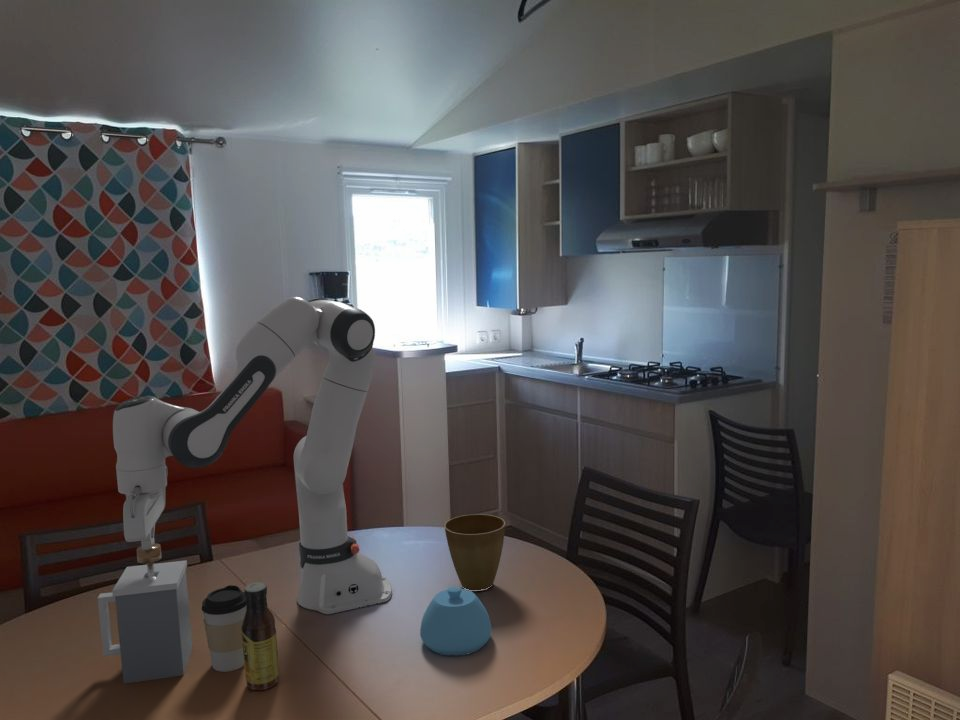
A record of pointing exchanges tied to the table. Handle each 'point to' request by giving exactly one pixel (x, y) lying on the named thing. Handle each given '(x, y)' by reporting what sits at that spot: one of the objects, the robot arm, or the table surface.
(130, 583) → the press jug
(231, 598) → the coffee cup
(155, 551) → the press plunger
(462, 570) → the plant pot
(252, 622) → the sauce bottle
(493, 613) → the table surface
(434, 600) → the sugar bowl
